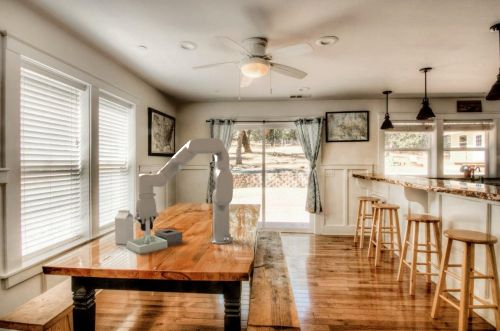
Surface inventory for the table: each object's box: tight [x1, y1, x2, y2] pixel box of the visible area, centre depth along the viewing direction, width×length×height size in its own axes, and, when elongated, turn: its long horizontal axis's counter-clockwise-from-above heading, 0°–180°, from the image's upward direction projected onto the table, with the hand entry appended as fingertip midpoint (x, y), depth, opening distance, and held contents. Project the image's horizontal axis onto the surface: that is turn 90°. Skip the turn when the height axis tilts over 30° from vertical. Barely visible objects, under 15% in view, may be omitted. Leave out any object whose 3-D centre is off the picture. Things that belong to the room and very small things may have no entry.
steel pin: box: [143, 217, 152, 245], centre depth 155 cm, size 4×4×16 cm
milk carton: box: [114, 209, 135, 245], centre depth 166 cm, size 7×7×19 cm
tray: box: [126, 235, 168, 256], centre depth 155 cm, size 16×16×4 cm
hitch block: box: [153, 227, 183, 247], centre depth 166 cm, size 14×10×6 cm
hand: (146, 229), depth 155 cm, fingers closed on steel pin, 3 cm apart
